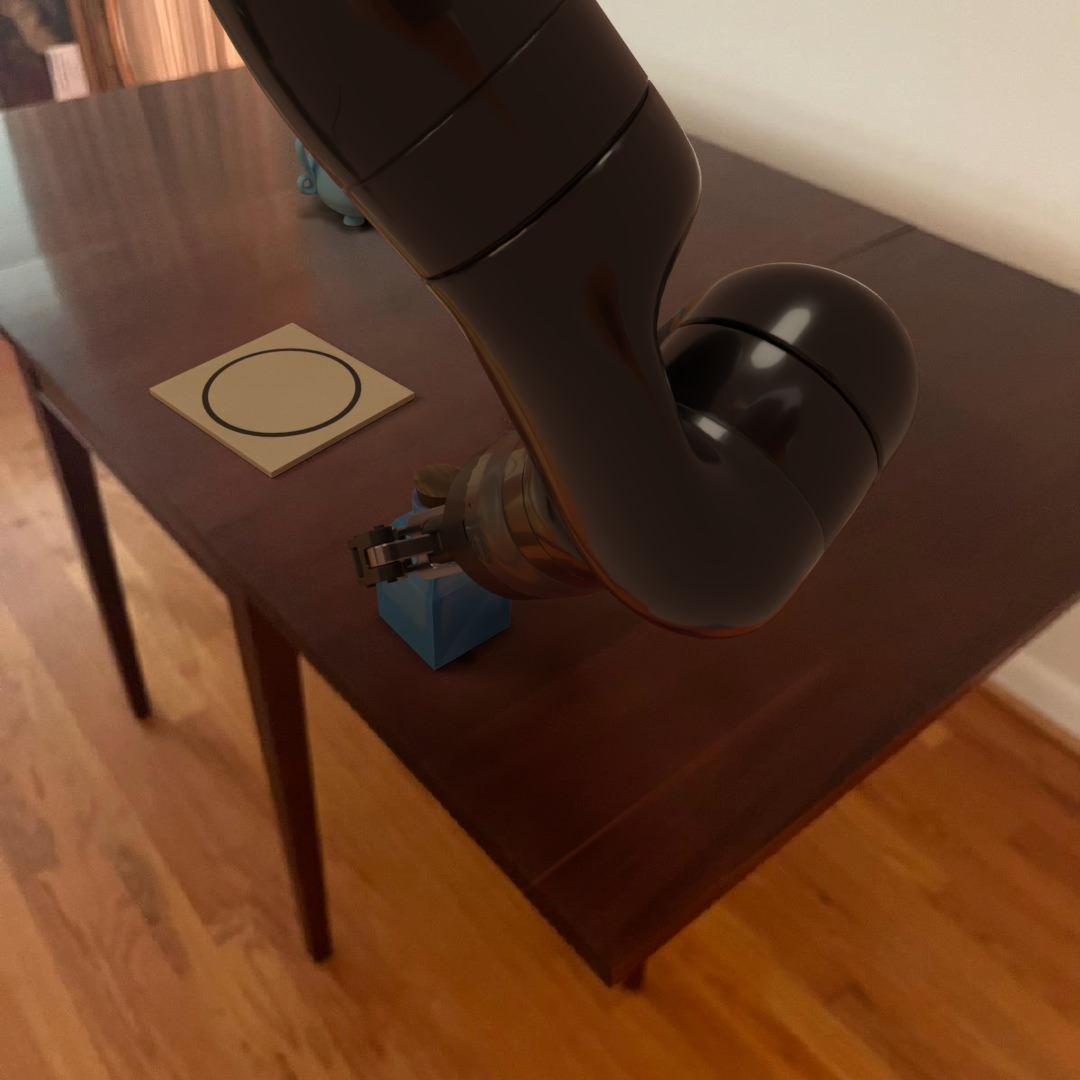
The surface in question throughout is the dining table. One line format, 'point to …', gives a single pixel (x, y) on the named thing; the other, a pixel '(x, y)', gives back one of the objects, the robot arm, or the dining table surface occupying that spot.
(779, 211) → the dining table surface
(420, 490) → the perfume bottle
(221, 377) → the beige board with circle
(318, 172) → the teapot
